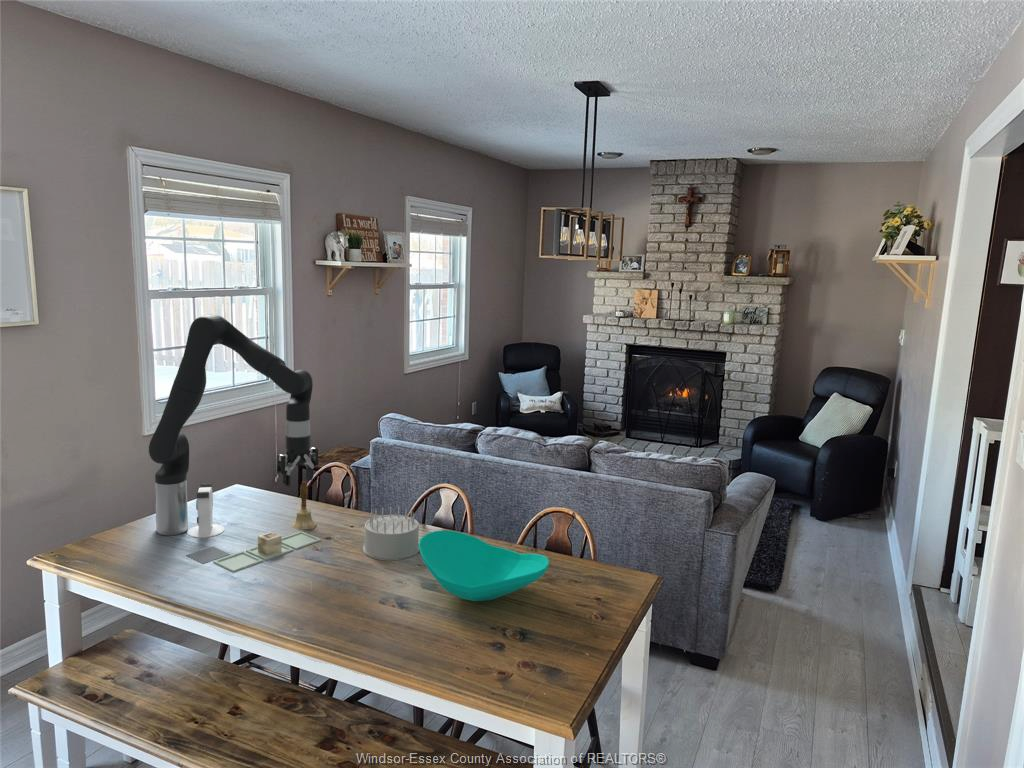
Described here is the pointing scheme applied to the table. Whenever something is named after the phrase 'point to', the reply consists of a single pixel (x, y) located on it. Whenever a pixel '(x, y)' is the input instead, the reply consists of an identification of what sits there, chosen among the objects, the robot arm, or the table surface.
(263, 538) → the letter cube
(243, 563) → the tray
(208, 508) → the white post on base
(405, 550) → the cake
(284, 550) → the tray
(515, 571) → the table top decor
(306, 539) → the tray
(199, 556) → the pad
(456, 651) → the table surface
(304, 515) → the hand bell
